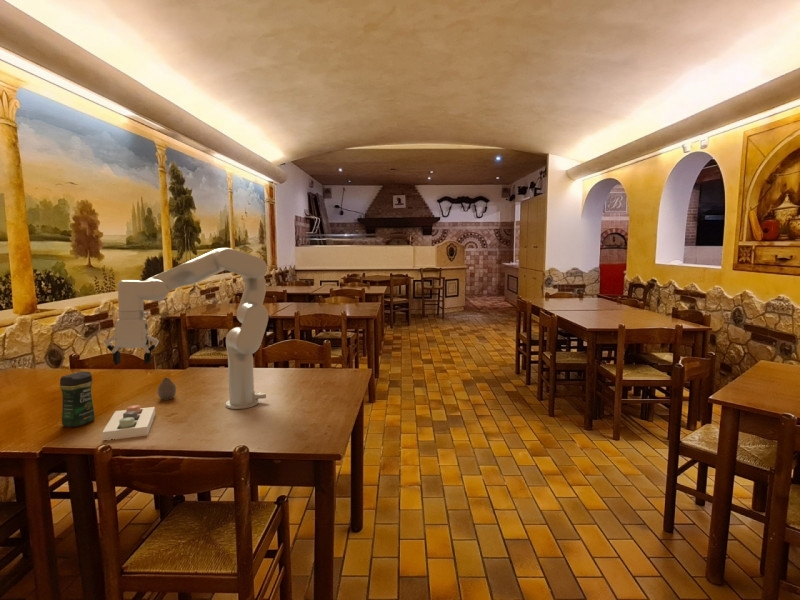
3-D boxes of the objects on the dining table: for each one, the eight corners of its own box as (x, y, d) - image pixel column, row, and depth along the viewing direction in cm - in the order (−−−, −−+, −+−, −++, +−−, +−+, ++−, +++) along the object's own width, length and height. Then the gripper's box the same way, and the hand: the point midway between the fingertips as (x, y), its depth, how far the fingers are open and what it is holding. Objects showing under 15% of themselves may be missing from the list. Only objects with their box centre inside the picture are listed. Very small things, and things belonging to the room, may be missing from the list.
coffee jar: (76, 429, 162) (72, 377, 160) (57, 427, 164) (54, 375, 162) (99, 419, 171) (96, 370, 170) (82, 417, 173) (78, 369, 171)
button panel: (155, 414, 177) (154, 406, 176) (147, 435, 156) (147, 426, 156) (115, 418, 172) (115, 411, 172) (102, 441, 152) (102, 432, 151)
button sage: (135, 425, 160) (135, 416, 160) (133, 429, 156) (133, 420, 156) (121, 426, 159) (120, 418, 158) (118, 431, 155) (118, 422, 154)
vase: (168, 401, 192) (167, 381, 191) (154, 400, 193) (153, 380, 193) (180, 396, 199) (179, 376, 198) (165, 395, 200) (164, 375, 199)
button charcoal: (138, 418, 167) (138, 410, 167) (136, 422, 163) (136, 414, 162) (124, 420, 165) (124, 411, 165) (122, 424, 161) (121, 415, 161)
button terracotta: (141, 412, 173) (141, 404, 173) (139, 416, 169) (139, 408, 169) (128, 413, 172) (127, 405, 171) (126, 417, 168) (125, 409, 167)
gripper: (161, 314, 166) (162, 361, 168) (109, 314, 164) (110, 361, 165) (154, 316, 159) (155, 365, 160) (99, 316, 156) (100, 366, 158)
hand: (132, 363), depth 163 cm, fingers open, 9 cm apart
